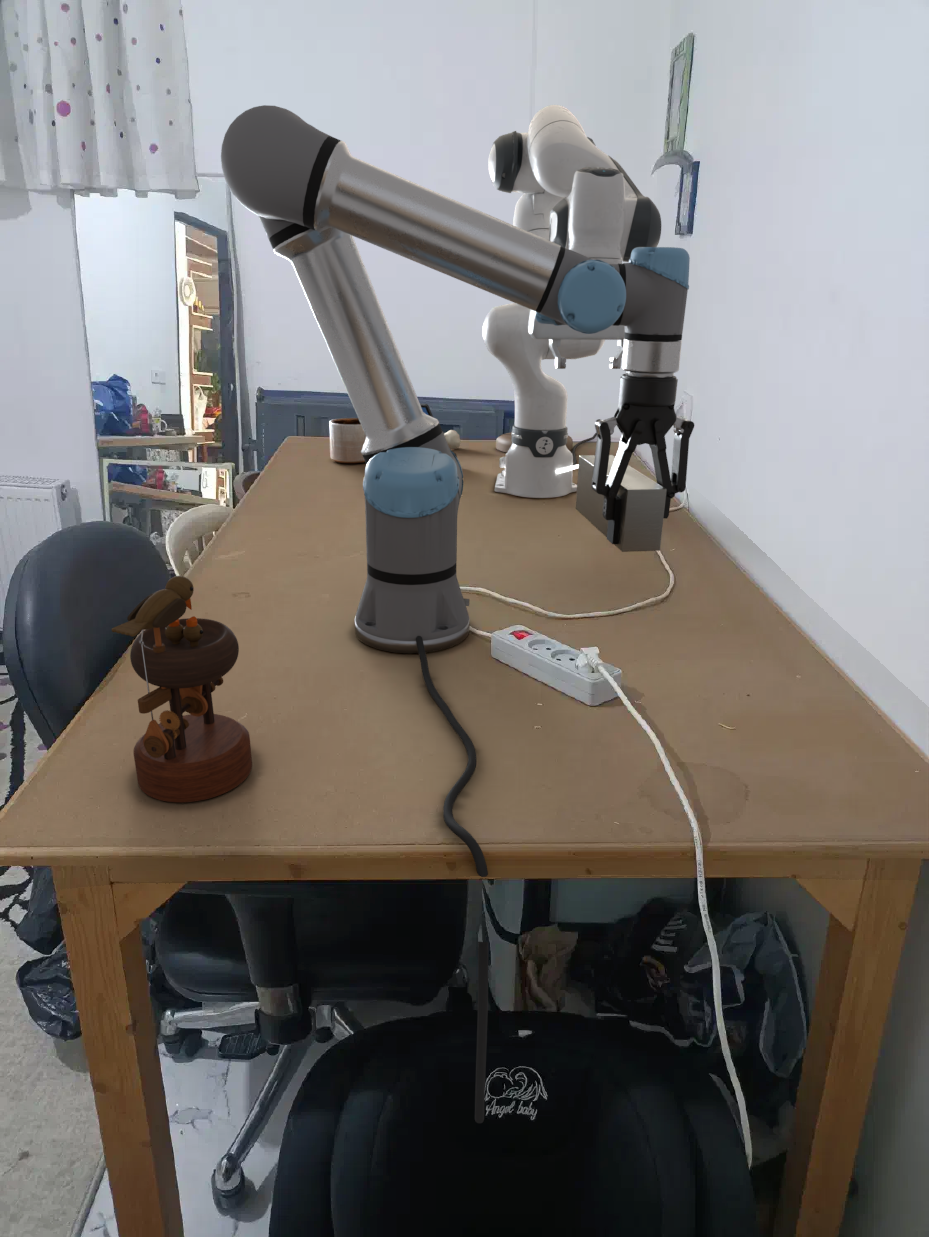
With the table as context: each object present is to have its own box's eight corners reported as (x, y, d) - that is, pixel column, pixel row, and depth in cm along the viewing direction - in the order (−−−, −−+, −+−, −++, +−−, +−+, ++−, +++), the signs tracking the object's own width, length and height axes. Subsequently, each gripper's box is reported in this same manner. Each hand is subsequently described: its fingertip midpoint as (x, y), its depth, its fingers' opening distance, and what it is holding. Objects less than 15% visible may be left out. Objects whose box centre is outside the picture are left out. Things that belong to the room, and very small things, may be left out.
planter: (327, 456, 217) (325, 418, 214) (369, 454, 220) (368, 417, 217) (334, 465, 208) (332, 425, 204) (377, 463, 211) (376, 424, 207)
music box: (228, 817, 74) (184, 604, 66) (110, 816, 75) (54, 607, 68) (282, 730, 88) (250, 546, 80) (182, 730, 89) (142, 549, 82)
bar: (660, 550, 119) (666, 489, 115) (622, 552, 118) (627, 489, 115) (607, 508, 140) (612, 454, 137) (575, 508, 139) (579, 455, 136)
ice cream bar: (502, 464, 212) (503, 447, 210) (493, 443, 238) (494, 428, 236) (585, 464, 213) (587, 448, 211) (568, 443, 239) (569, 428, 237)
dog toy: (457, 445, 233) (458, 427, 231) (461, 450, 228) (461, 431, 226) (384, 447, 230) (384, 428, 228) (386, 451, 224) (386, 432, 223)
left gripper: (703, 370, 117) (684, 531, 126) (573, 370, 114) (563, 535, 123) (727, 376, 110) (705, 546, 119) (590, 377, 108) (577, 550, 116)
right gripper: (647, 280, 140) (640, 367, 145) (527, 278, 137) (524, 367, 142) (661, 279, 135) (653, 370, 139) (536, 277, 131) (533, 370, 136)
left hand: (633, 540), depth 121 cm, fingers closed on bar, 6 cm apart
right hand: (587, 368), depth 141 cm, fingers open, 8 cm apart
